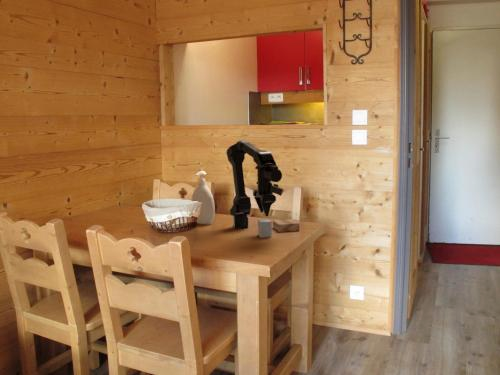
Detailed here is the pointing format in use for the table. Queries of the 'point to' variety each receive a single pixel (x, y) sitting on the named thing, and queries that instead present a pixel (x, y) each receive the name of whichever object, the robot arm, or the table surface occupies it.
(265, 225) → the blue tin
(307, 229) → the table surface
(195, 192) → the soap bottle
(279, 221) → the walnut block
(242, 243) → the table surface
